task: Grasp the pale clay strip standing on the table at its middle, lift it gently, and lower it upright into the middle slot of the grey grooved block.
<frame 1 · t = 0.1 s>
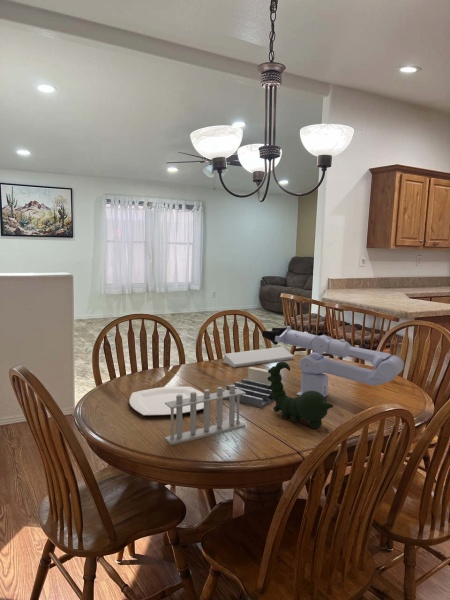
hand: (267, 331, 169), 22 cm above the table, tool horizontal, fingers open, 7 cm apart
plate: (168, 405, 150), on the table
toy figurine: (298, 421, 137), on the table
test tube rack: (206, 433, 127), on the table
grey grooved block: (251, 396, 158), on the table
clay strip: (264, 384, 172), on the table
decorative molding: (259, 362, 208), on the table
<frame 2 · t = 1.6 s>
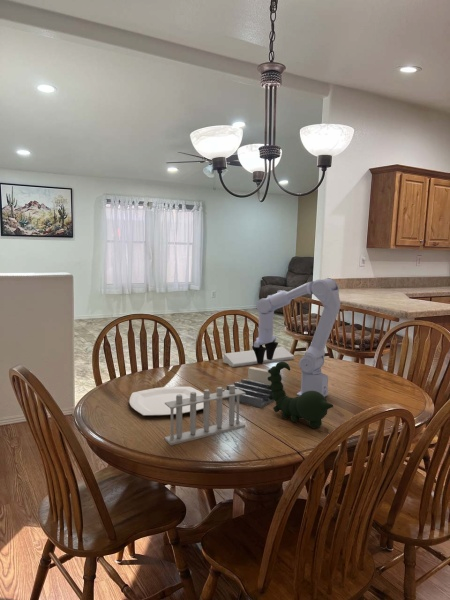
hand: (264, 361, 171), 9 cm above the table, tool pointing down, fingers open, 7 cm apart
nothing on the table moved.
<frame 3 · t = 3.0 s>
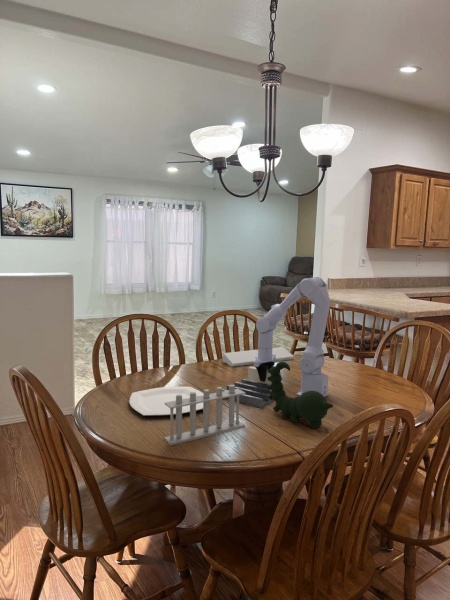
hand: (264, 380, 172), 2 cm above the table, tool pointing down, fingers closed on clay strip, 2 cm apart
clay strip: (264, 384, 172), on the table, touching gripper
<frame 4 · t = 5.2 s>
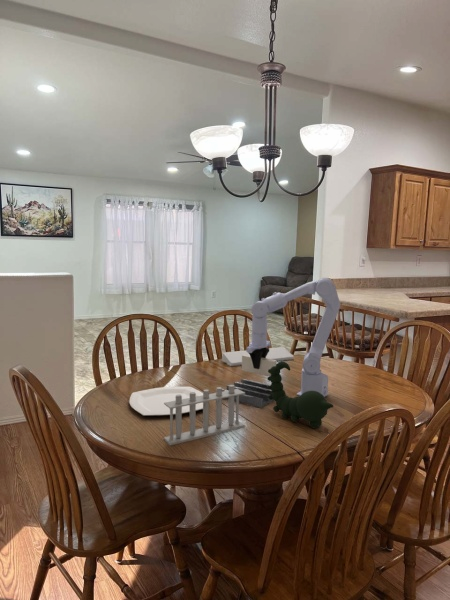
hand: (258, 367, 164), 9 cm above the table, tool pointing down, fingers closed on clay strip, 2 cm apart
clay strip: (258, 373, 165), point 7 cm above the table, touching gripper
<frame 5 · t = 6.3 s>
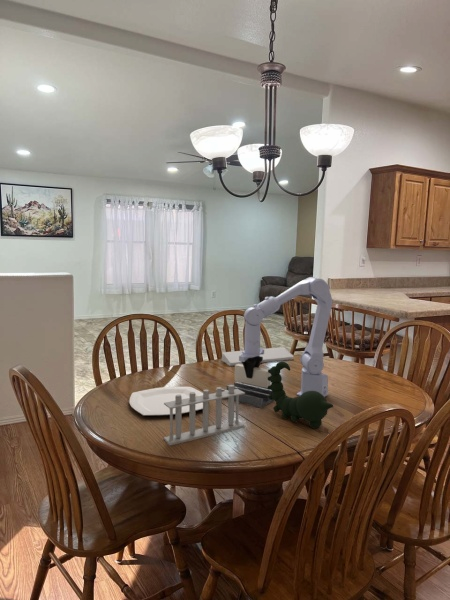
hand: (251, 376, 158), 7 cm above the table, tool pointing down, fingers closed on clay strip, 2 cm apart
clay strip: (252, 383, 158), point 5 cm above the table, touching gripper
when the fingers open (4 cm above the table, at t = 7.3 s): clay strip stays where it is, resting on grey grooved block.
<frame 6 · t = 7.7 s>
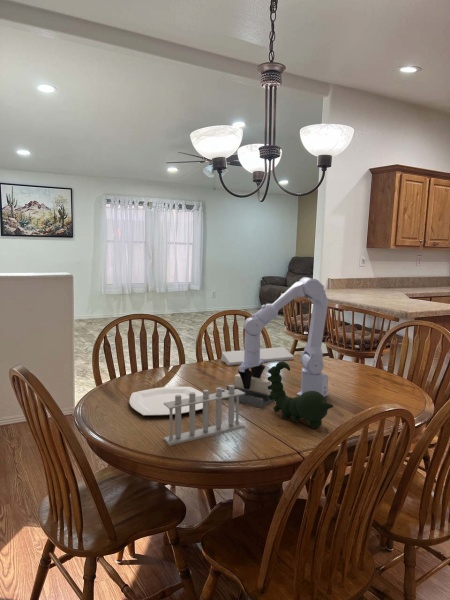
hand: (251, 386, 158), 4 cm above the table, tool pointing down, fingers open, 6 cm apart
clay strip: (251, 393, 158), point 1 cm above the table, touching grey grooved block
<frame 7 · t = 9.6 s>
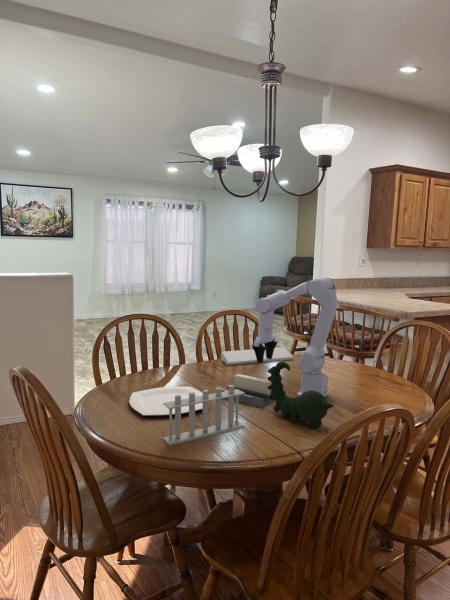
hand: (264, 360, 173), 9 cm above the table, tool pointing down, fingers open, 7 cm apart
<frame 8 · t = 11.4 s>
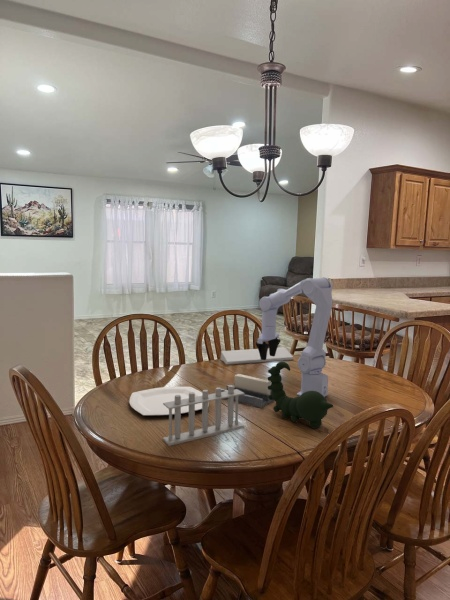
hand: (267, 357, 177), 9 cm above the table, tool pointing down, fingers open, 7 cm apart
at the end: clay strip 0.3 cm off-centre on the grey grooved block, point 1.0 cm above the grey grooved block's base; clay strip tilted 0°; the gripper is holding nothing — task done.
